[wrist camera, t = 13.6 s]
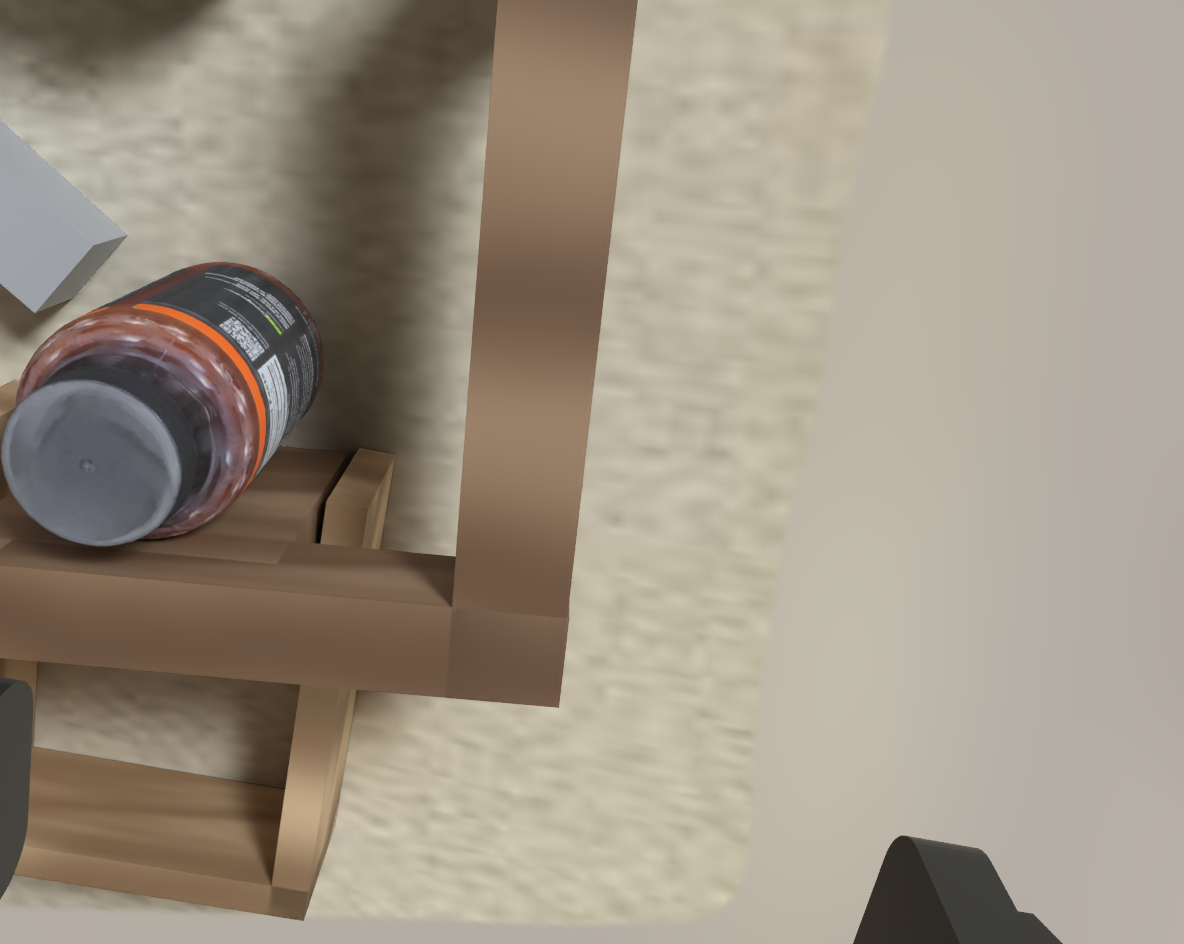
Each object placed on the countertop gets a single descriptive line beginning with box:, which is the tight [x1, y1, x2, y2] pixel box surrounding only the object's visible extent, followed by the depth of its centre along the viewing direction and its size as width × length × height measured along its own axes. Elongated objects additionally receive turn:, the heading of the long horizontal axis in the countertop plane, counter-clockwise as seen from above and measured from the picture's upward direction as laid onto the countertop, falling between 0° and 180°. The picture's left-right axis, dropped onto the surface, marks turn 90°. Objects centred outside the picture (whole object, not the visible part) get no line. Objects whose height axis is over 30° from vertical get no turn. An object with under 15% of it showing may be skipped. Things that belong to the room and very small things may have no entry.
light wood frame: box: [0, 380, 395, 921], centre depth 35 cm, size 15×12×5 cm
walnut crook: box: [0, 0, 638, 708], centre depth 28 cm, size 21×15×10 cm
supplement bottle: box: [1, 262, 323, 546], centre depth 29 cm, size 6×6×11 cm
